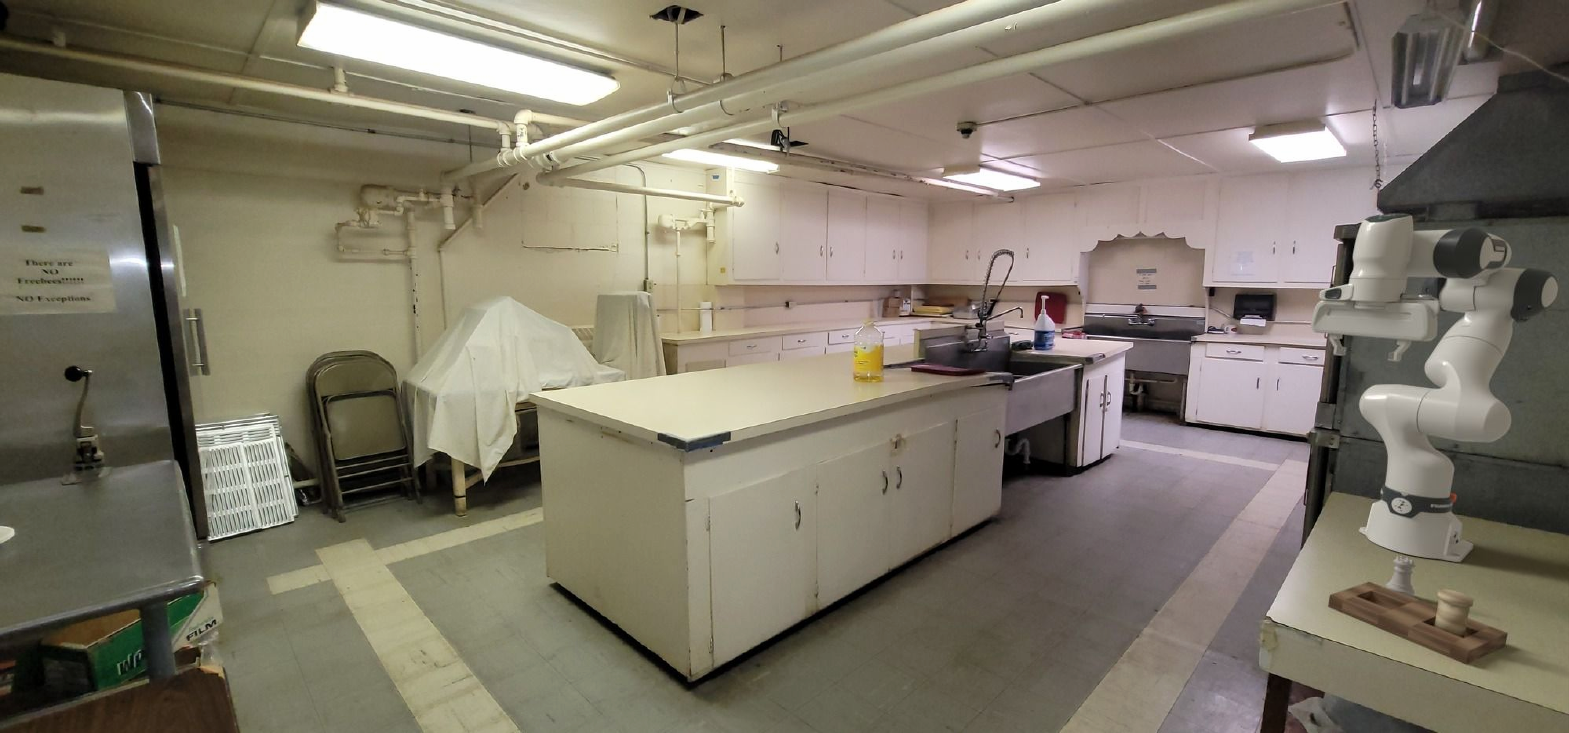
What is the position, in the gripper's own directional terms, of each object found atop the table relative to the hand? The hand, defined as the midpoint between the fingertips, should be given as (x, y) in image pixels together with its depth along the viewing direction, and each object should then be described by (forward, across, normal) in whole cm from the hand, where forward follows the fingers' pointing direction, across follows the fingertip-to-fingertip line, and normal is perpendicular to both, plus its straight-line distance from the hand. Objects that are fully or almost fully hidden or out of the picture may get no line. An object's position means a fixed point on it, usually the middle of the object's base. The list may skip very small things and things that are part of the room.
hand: (1365, 358), depth 134 cm
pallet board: (+48, -19, +13) cm, 53 cm away
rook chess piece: (+48, -12, +1) cm, 50 cm away
